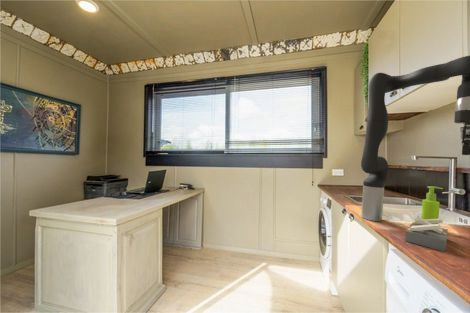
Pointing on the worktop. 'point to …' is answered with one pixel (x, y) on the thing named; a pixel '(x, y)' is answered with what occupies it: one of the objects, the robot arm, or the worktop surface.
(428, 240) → the switch box
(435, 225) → the block
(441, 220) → the block
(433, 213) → the soap dispenser
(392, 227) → the worktop surface
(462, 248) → the worktop surface
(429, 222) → the block
